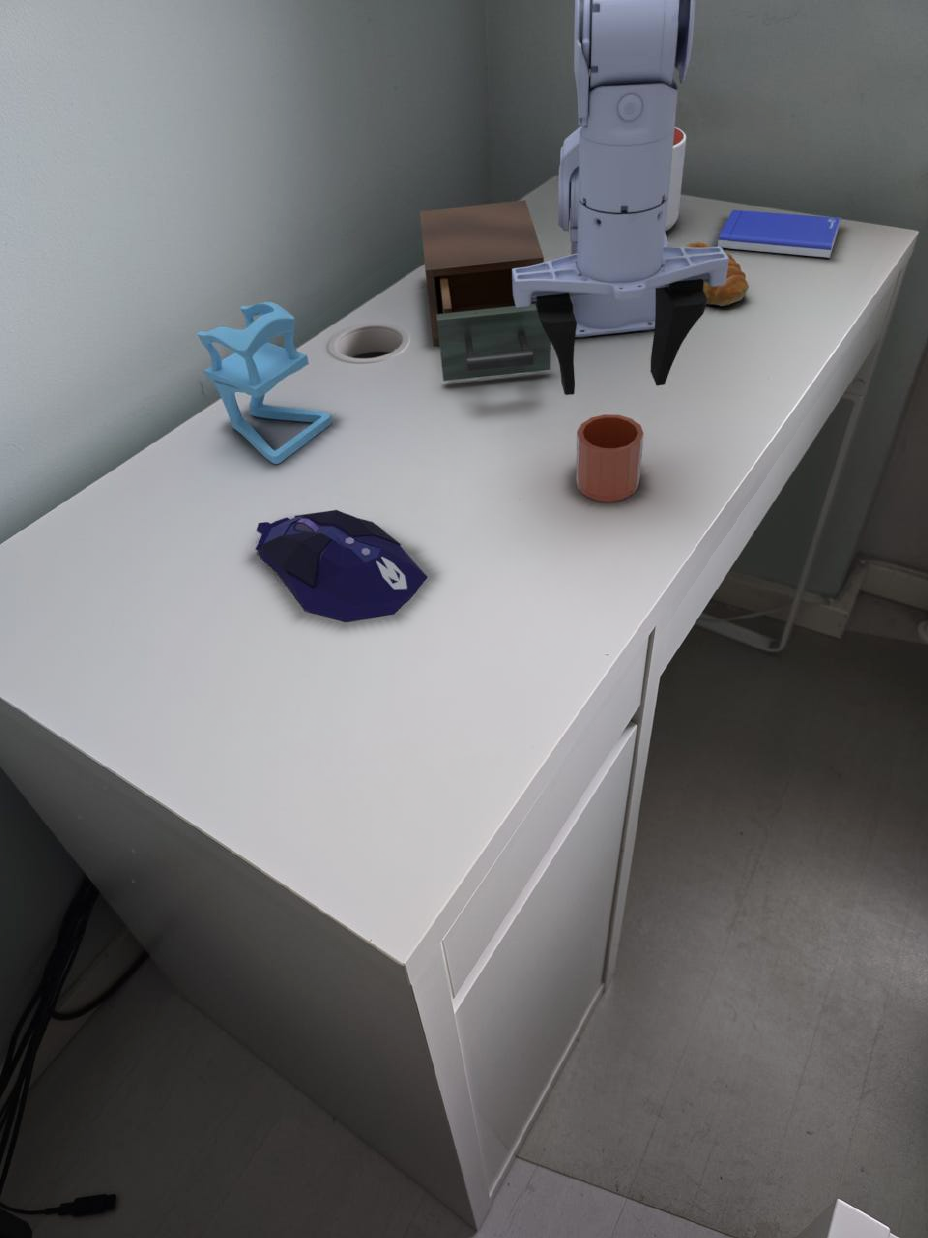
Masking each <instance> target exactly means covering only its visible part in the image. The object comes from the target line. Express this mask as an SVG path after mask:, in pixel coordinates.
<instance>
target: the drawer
mask: <svg viewBox="0 0 928 1238" xmlns="http://www.w3.org/2000/svg"><path fill="white" fill-rule="evenodd" d="M512 269H514V268H512ZM512 269H503V270H493V271H484V272H474V273H465V274H456V275H446V276H439V283H440V293H441V303H442V313H443V314H437V315H436V316H437V325H438V335H439V345H438V346H439V353H440V354H439V355H440V363H441V373H442V381H443V382H449V381H459V380H466V379H467V380H468V379H469V380H470V379H479V378H487V377H496V376H504V375H505V376H506V375H514V374H524V373H525V374H526V373H535V372H542V371H544V372H545V371H551V369H552V368H551V361H552V360H551V359H552V357H551V356H552V355H551V353H552V352H551V351H552V350H551V342H550V340H549V338H548V336H547V334H546V332H545V330H544V328H543V326H542V324H541V322H540V319H539V315H538V312H537V308H536V305H535V301H532V302H531V305H530V306H527V307H518V308H517V307H516V305H515V301H514V297H513V283H512Z"/></svg>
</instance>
